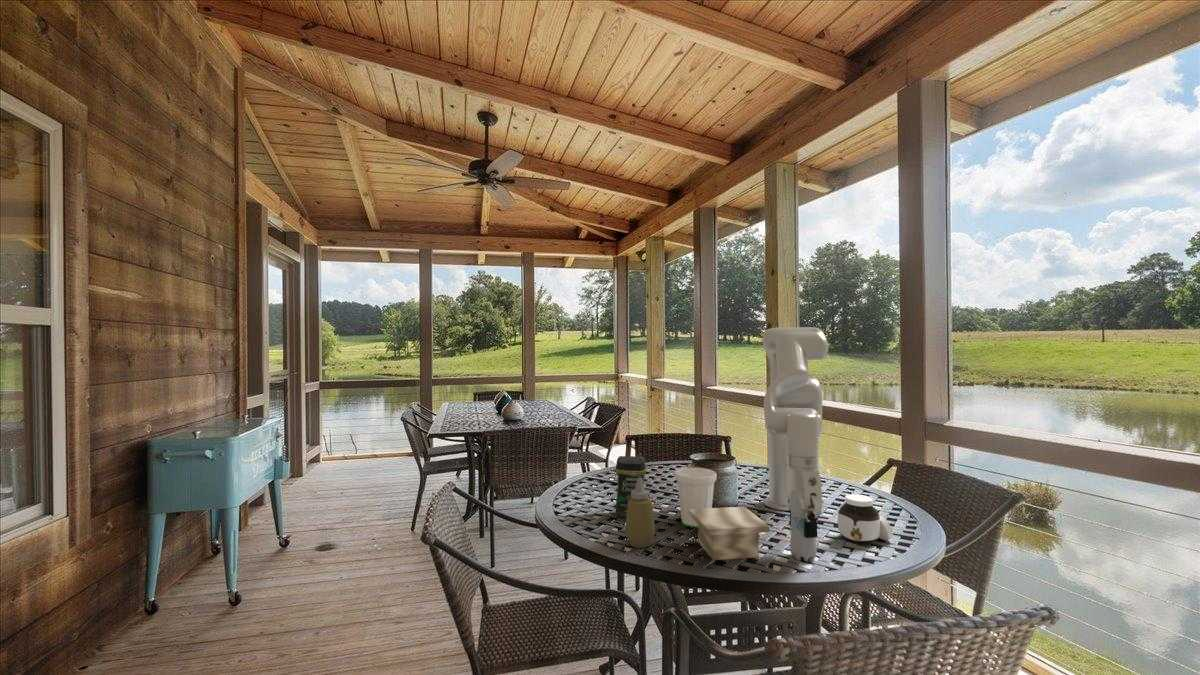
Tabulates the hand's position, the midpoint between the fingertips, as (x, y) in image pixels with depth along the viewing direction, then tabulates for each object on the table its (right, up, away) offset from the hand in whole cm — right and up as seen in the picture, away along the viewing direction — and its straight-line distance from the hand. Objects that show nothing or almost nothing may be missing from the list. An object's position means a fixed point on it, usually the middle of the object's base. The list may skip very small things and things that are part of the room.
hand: (803, 531), depth 138 cm
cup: (-23, -7, +26) cm, 35 cm away
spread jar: (+22, -7, +12) cm, 26 cm away
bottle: (0, -7, 0) cm, 7 cm away
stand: (-18, -7, +6) cm, 20 cm away
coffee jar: (-42, -7, +34) cm, 54 cm away
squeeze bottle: (-41, -7, +10) cm, 42 cm away
